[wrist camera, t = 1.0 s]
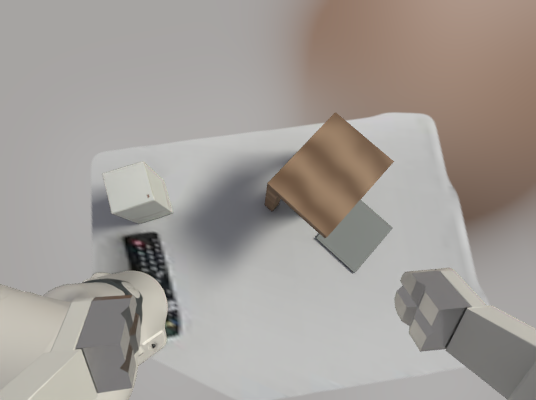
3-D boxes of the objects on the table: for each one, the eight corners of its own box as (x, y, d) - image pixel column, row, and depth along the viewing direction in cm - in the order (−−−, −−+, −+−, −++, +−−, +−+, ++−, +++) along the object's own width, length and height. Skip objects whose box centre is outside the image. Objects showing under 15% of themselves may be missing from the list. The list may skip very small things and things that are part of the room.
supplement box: (164, 179, 69) (144, 159, 57) (174, 213, 68) (155, 201, 55) (128, 190, 69) (100, 172, 56) (137, 225, 67) (110, 214, 55)
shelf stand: (309, 245, 67) (327, 237, 50) (264, 204, 69) (267, 183, 52) (360, 188, 70) (393, 161, 53) (316, 150, 72) (335, 112, 54)
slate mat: (354, 272, 67) (354, 272, 66) (315, 238, 68) (316, 238, 67) (391, 228, 69) (392, 227, 68) (354, 195, 70) (354, 194, 69)
